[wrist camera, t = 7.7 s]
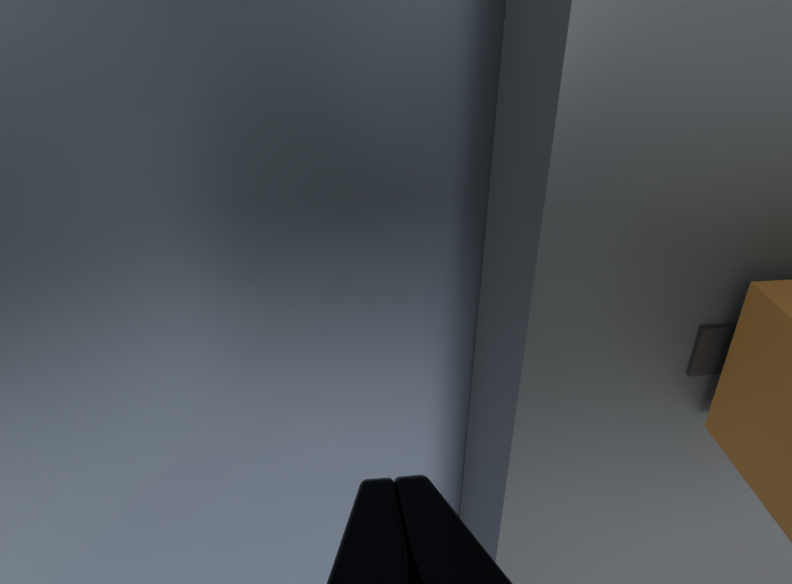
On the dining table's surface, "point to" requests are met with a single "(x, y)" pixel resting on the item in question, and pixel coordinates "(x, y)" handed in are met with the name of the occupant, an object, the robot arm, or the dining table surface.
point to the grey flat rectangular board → (626, 288)
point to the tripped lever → (759, 398)
